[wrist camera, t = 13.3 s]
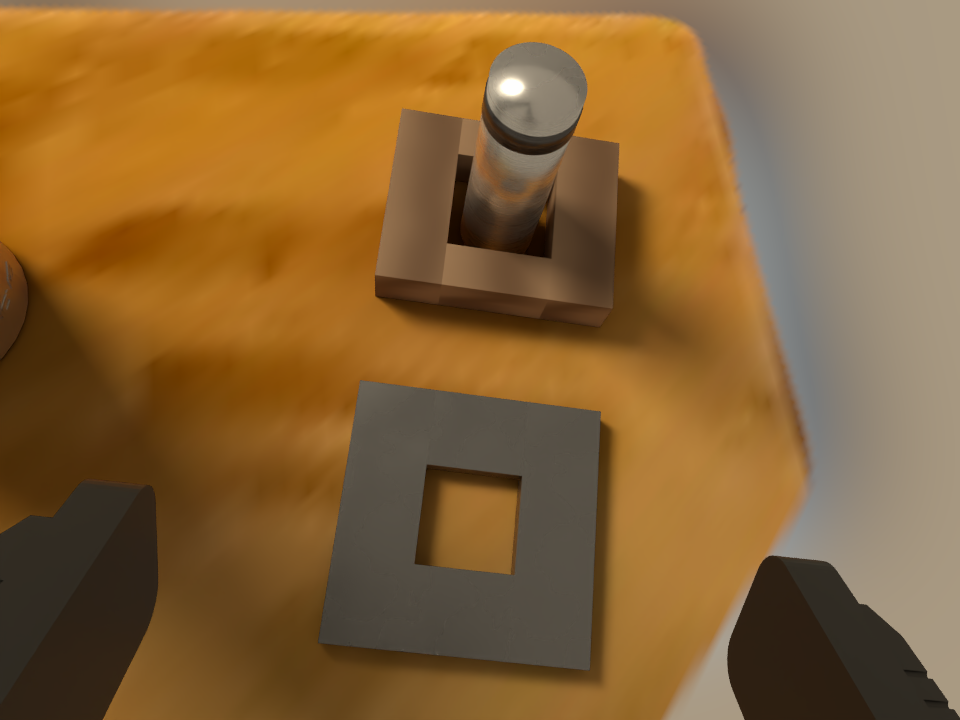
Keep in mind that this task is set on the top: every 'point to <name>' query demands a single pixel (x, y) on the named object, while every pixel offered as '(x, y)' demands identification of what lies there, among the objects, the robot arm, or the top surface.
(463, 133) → the rack
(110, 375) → the top surface
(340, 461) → the top surface
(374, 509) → the socket plate
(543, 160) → the grey metal cylinder
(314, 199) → the top surface
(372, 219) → the top surface
